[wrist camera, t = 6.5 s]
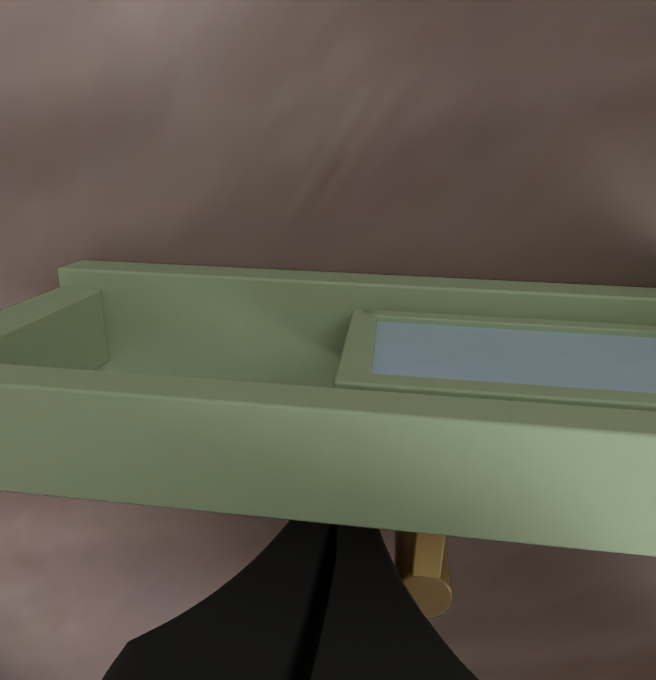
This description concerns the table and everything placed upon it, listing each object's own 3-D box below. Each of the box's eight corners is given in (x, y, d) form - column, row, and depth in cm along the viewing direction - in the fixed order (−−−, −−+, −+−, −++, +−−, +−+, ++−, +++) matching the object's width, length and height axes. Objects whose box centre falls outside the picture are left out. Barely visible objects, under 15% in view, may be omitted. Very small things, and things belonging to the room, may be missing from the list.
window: (590, 530, 14) (672, 688, 10) (349, 506, 15) (332, 646, 10) (628, 366, 12) (746, 473, 8) (356, 349, 13) (339, 438, 9)
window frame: (699, 400, 14) (971, 619, 7) (94, 358, 16) (-122, 503, 9) (731, 290, 13) (1079, 430, 6) (81, 259, 15) (-173, 341, 8)
